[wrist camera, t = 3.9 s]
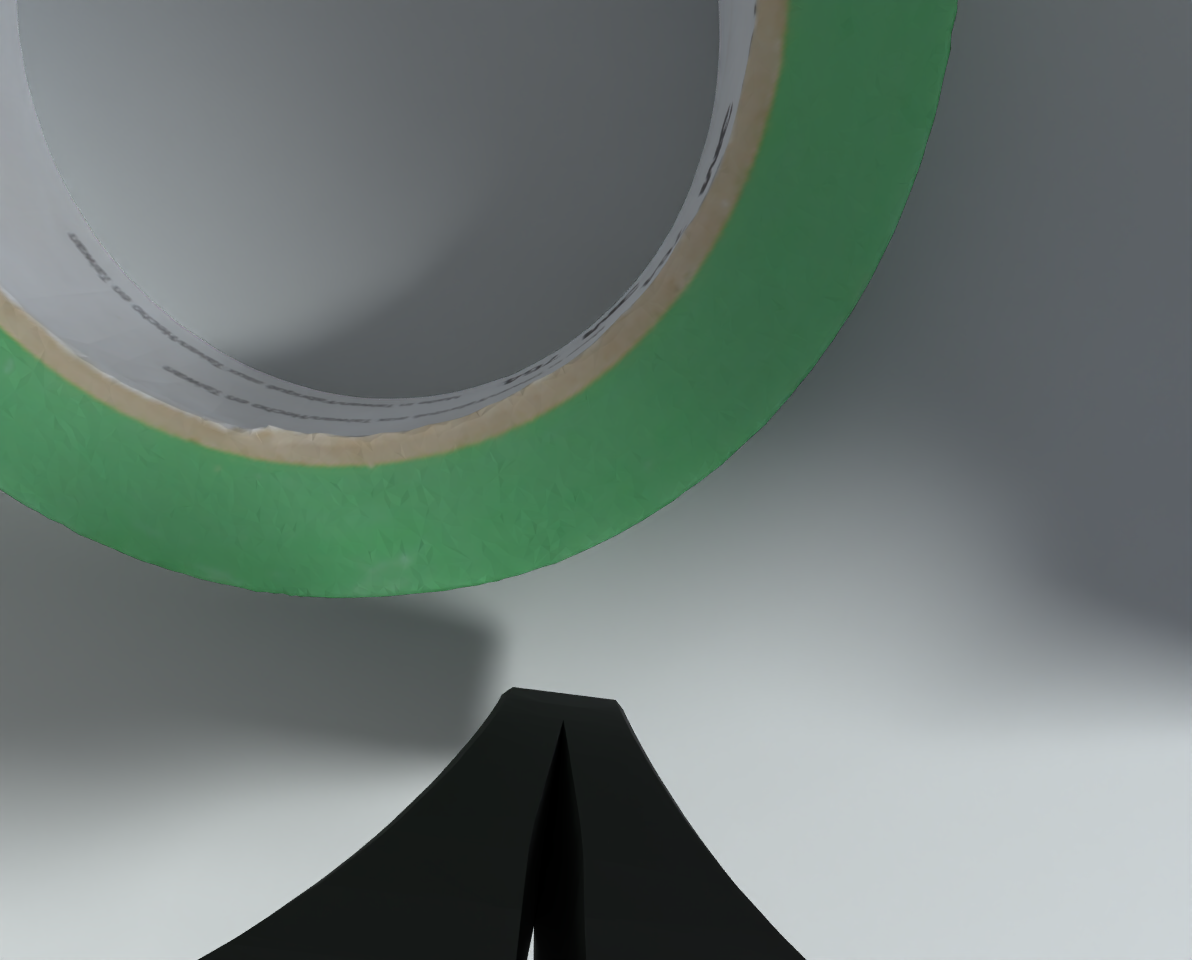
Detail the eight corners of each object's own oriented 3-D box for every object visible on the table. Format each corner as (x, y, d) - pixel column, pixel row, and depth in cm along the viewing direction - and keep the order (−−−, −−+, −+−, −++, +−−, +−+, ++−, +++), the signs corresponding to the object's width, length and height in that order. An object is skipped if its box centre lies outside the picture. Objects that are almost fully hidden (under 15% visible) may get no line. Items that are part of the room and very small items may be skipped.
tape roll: (351, 682, 11) (279, 805, 9) (-330, -26, 9) (-688, -135, 7) (1055, 141, 10) (1223, 98, 7) (419, -893, 7) (324, -1500, 5)
